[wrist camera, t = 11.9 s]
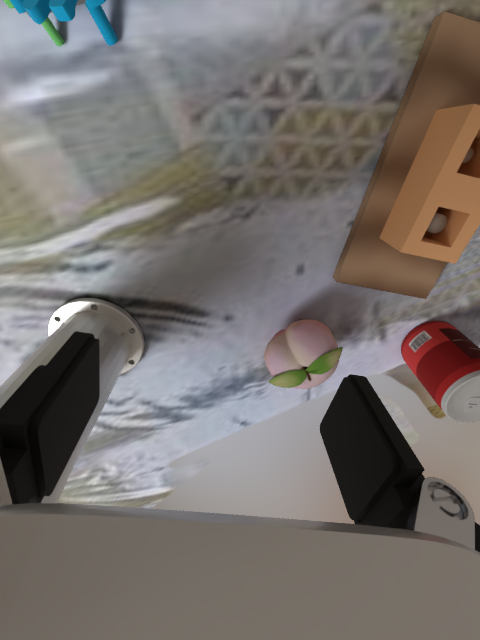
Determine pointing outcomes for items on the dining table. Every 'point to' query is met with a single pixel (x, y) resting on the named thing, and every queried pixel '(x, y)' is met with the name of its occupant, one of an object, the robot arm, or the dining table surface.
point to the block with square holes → (440, 189)
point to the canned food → (446, 368)
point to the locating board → (399, 153)
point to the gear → (64, 15)
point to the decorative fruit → (302, 355)
